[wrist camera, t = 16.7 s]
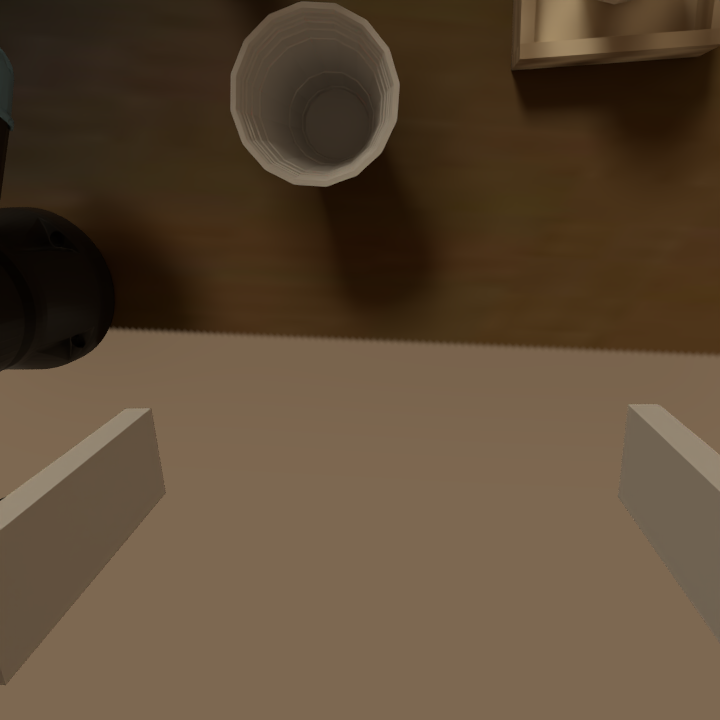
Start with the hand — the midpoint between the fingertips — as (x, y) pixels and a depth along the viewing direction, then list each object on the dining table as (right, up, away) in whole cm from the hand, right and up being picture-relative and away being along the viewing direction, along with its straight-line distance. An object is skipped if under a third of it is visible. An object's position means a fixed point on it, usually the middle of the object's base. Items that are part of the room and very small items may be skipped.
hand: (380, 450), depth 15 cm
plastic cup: (-2, +22, +30) cm, 37 cm away
